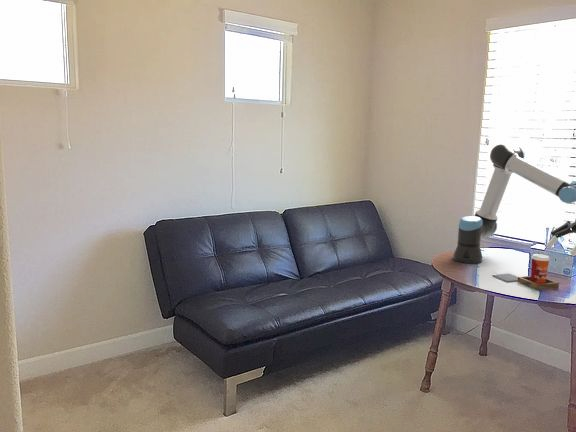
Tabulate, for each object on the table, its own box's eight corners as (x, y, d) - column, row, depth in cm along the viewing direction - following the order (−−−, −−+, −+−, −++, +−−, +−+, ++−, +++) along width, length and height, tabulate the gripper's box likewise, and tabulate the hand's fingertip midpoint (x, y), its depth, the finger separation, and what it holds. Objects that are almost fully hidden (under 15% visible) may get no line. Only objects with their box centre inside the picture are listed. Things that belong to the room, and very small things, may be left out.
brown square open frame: (517, 282, 230) (517, 277, 229) (537, 280, 233) (538, 275, 233) (537, 290, 219) (537, 285, 218) (558, 288, 222) (559, 282, 222)
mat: (492, 276, 239) (492, 274, 238) (509, 274, 242) (509, 273, 241) (507, 282, 229) (507, 281, 229) (524, 280, 232) (524, 279, 232)
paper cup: (536, 288, 221) (540, 258, 219) (524, 283, 229) (527, 254, 226) (550, 287, 223) (554, 257, 221) (538, 282, 231) (541, 253, 228)
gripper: (616, 228, 217) (586, 263, 215) (569, 218, 240) (541, 249, 239) (609, 216, 215) (578, 252, 213) (562, 207, 238) (534, 239, 236)
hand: (559, 250), depth 226 cm, fingers open, 13 cm apart
